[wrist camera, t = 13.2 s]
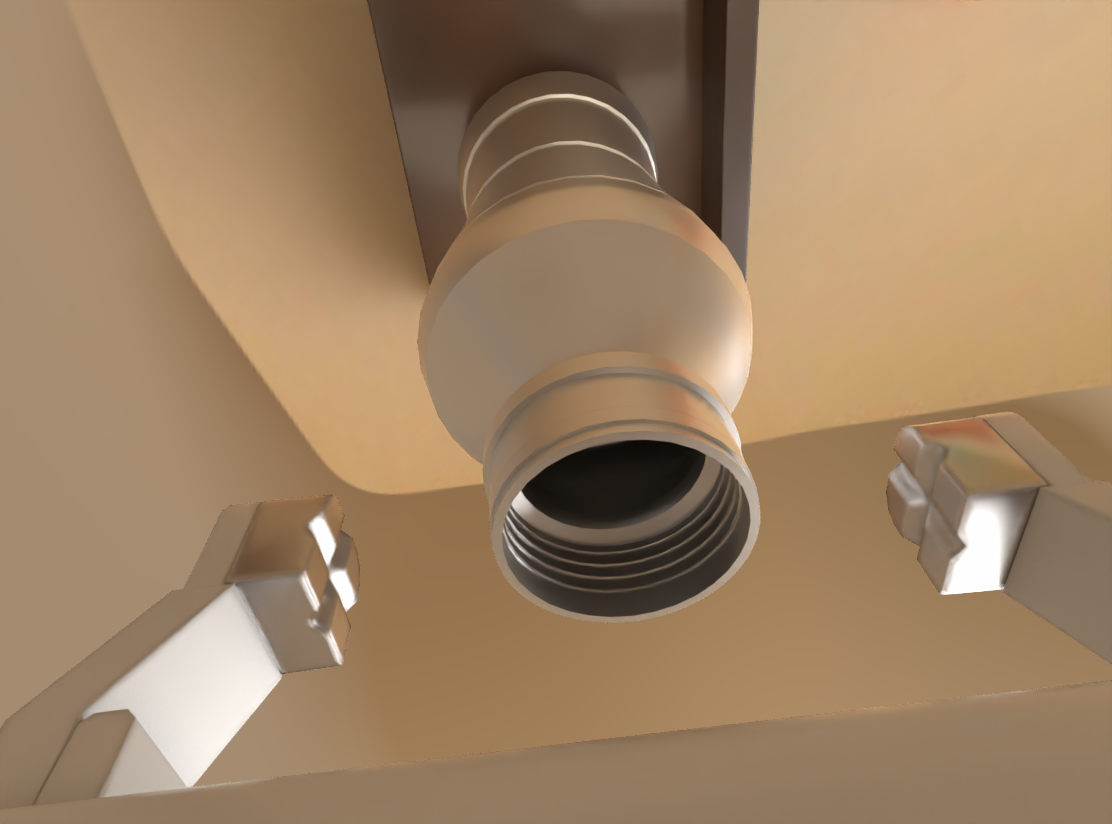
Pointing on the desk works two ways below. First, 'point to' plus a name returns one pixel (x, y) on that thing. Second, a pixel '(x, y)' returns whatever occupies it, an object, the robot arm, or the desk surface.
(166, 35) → the desk surface
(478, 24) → the shelf
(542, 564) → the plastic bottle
